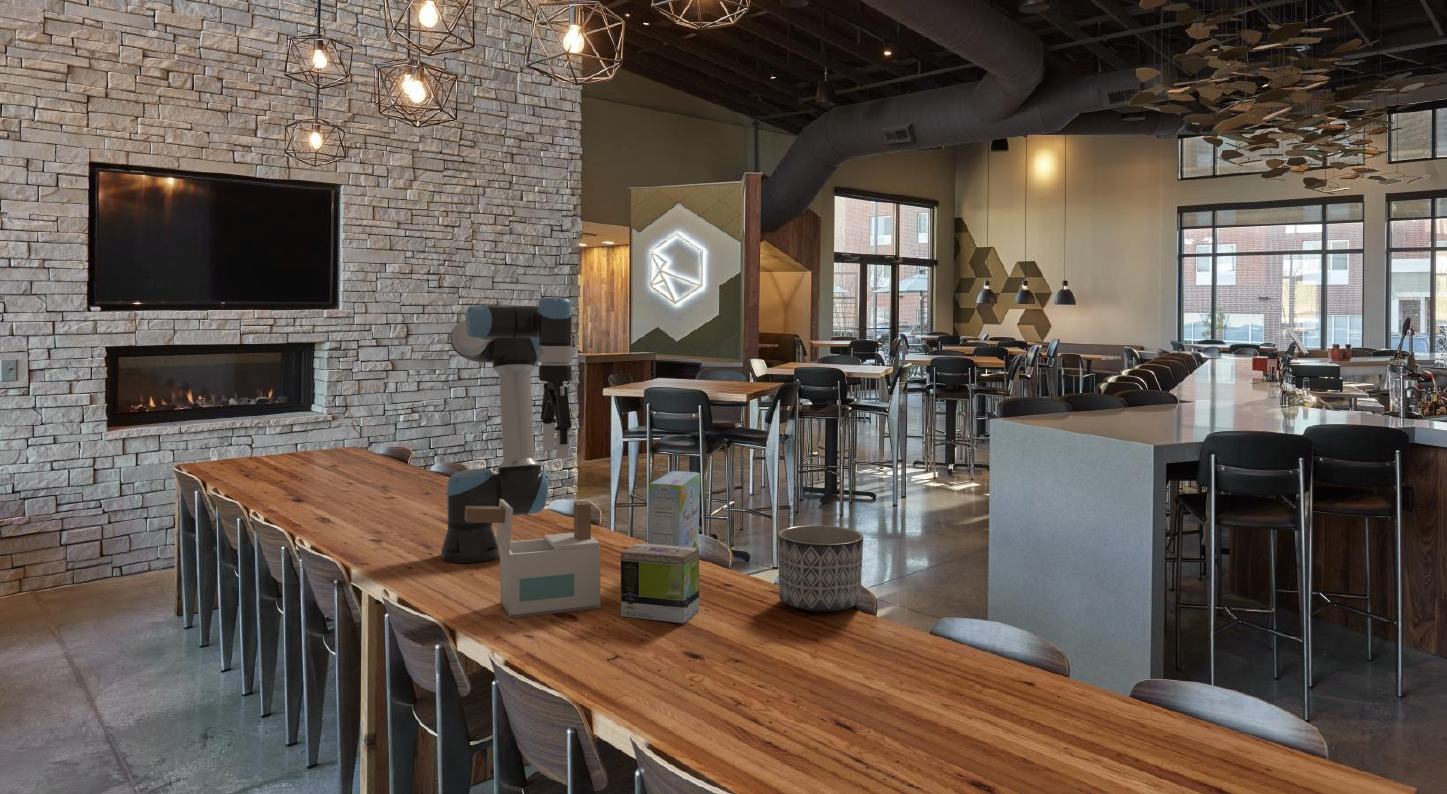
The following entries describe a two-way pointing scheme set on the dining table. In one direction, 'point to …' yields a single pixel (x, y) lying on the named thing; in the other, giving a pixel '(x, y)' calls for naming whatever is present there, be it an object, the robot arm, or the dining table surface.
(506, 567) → the carton
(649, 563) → the tea box
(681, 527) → the snack box
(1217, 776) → the dining table surface
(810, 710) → the dining table surface
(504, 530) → the flap near
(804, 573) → the planter
